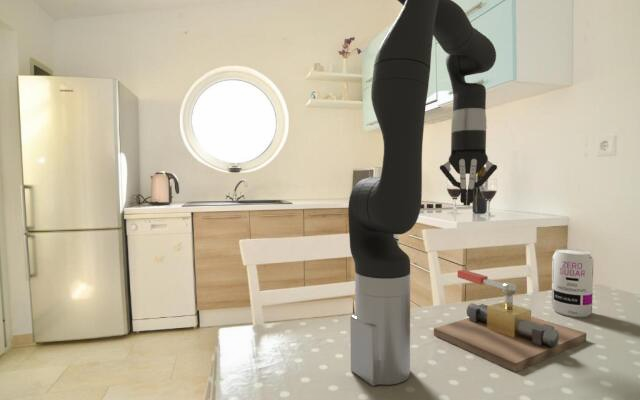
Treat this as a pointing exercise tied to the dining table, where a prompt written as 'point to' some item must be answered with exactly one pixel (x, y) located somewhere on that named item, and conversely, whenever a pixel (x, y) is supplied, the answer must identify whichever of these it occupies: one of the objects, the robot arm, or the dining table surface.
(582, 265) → the supplement can
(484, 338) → the valve board
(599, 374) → the dining table surface
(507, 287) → the valve lever
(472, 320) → the pipe valve
